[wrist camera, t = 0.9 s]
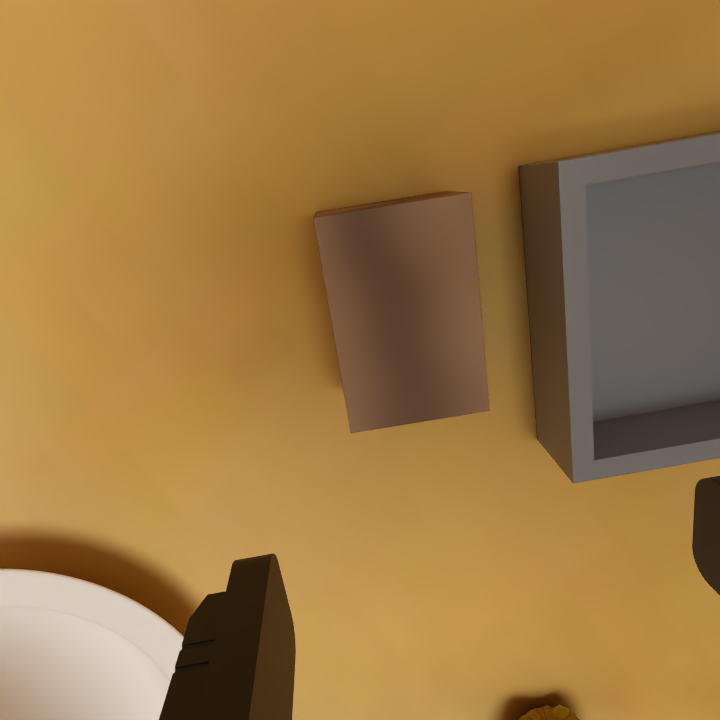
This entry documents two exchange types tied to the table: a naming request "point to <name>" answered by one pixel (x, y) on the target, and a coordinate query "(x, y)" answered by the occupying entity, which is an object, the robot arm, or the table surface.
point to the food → (549, 713)
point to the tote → (625, 305)
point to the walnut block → (405, 308)
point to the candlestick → (80, 651)
